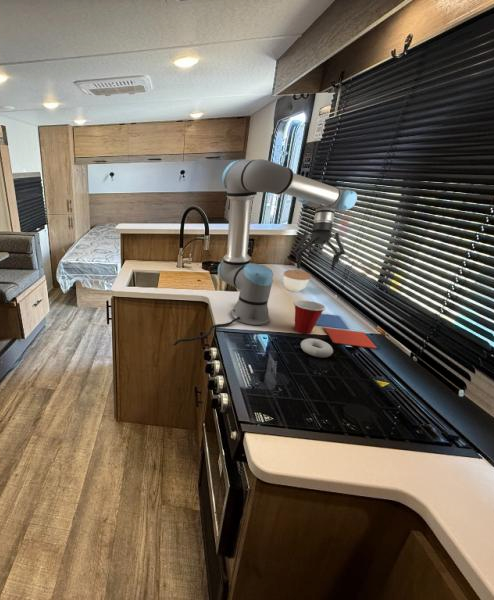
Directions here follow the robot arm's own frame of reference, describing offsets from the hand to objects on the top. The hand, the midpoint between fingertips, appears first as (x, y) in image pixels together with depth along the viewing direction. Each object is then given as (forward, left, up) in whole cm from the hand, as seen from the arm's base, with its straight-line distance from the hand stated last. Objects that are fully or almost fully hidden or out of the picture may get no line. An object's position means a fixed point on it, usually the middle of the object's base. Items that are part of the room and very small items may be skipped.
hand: (314, 269), depth 141 cm
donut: (-38, -24, -19) cm, 48 cm away
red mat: (-17, -26, -18) cm, 36 cm away
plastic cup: (-26, -13, -19) cm, 34 cm away
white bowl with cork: (+16, +14, -19) cm, 29 cm away
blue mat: (-9, -13, -18) cm, 24 cm away
